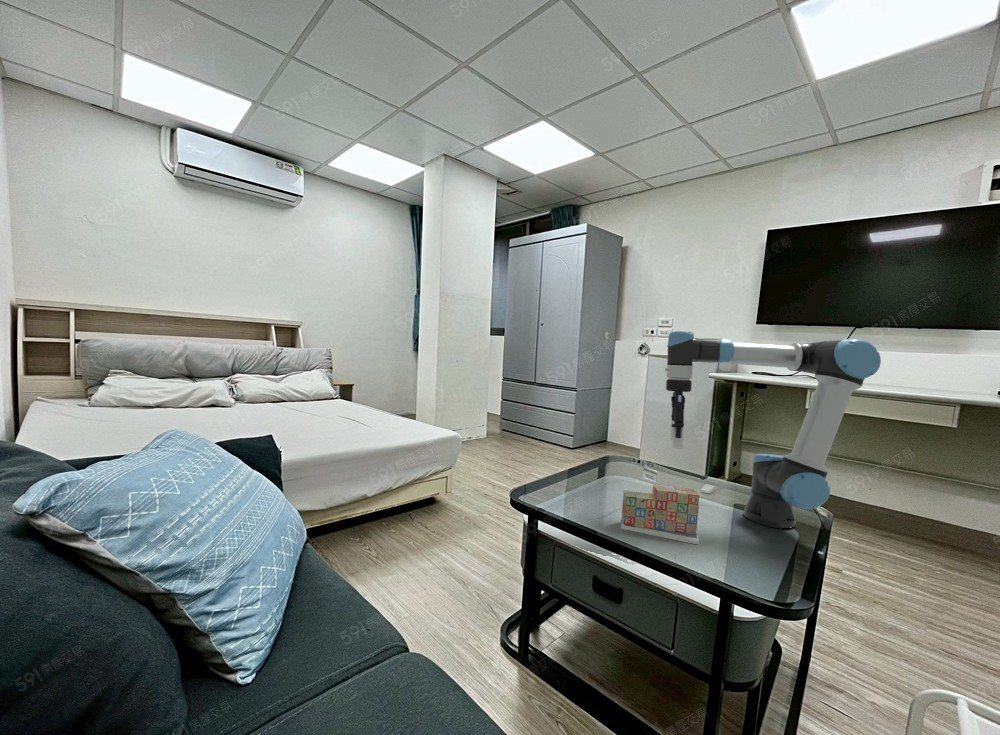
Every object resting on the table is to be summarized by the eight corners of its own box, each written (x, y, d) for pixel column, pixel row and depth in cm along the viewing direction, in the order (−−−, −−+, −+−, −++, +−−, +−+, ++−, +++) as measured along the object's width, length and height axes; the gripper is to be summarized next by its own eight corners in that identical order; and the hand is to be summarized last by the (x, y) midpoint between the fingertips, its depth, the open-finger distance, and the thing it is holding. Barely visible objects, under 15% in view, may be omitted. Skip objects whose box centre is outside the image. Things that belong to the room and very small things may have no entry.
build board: (696, 531, 128) (696, 527, 127) (698, 544, 118) (698, 540, 118) (624, 517, 136) (624, 513, 136) (620, 528, 127) (621, 524, 127)
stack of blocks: (623, 525, 126) (626, 486, 126) (621, 517, 132) (623, 480, 132) (696, 535, 122) (699, 494, 122) (691, 526, 128) (693, 488, 128)
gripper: (665, 377, 144) (662, 436, 145) (668, 379, 121) (665, 450, 121) (688, 378, 141) (685, 438, 142) (695, 381, 118) (692, 453, 119)
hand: (676, 444), depth 132 cm, fingers open, 13 cm apart
